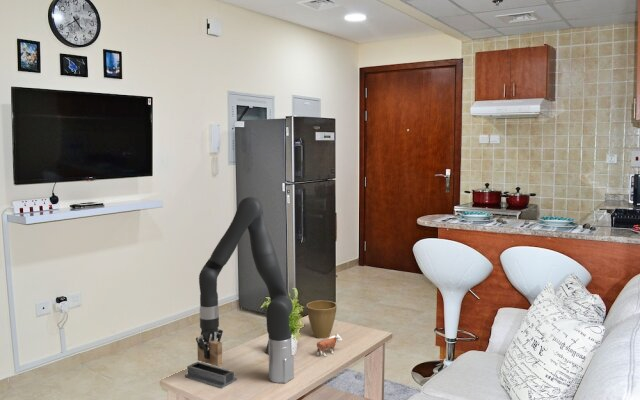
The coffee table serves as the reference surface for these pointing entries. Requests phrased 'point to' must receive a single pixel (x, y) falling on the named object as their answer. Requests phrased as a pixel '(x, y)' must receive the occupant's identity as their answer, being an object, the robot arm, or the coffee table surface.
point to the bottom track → (210, 374)
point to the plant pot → (321, 317)
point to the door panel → (212, 353)
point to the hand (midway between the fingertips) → (210, 357)
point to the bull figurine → (328, 344)
